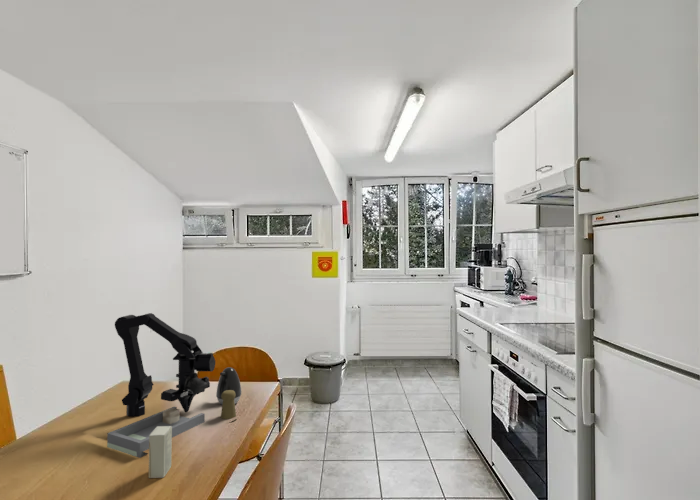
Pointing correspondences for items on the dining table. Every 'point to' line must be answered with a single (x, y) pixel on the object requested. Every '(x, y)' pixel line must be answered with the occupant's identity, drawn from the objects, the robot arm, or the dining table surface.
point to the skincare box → (160, 451)
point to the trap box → (147, 433)
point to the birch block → (171, 415)
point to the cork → (228, 405)
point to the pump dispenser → (228, 384)
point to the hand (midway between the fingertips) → (186, 411)
